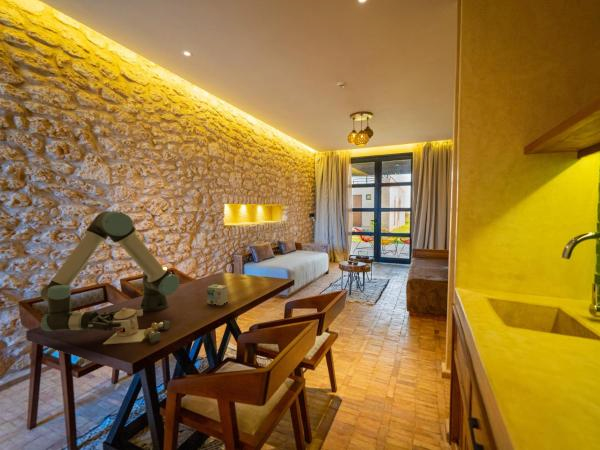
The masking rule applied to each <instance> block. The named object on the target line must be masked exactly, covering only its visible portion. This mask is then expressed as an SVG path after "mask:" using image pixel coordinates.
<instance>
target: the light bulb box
mask: <svg viewBox="0 0 600 450" xmlns="http://www.w3.org/2000/svg"><path fill="white" fill-rule="evenodd" d="M206 288H207V289H206V291H207V293H206V294H207V296H206V297H207V298H206V299H207V301H206V303H208V304H209V305H214V304H216V305H215V306H223V305H225V304H227V303H228V285H224V284H223V285H222V284H211V285H209V286H207V287H206ZM226 302H227V303H226ZM224 303H225V304H224Z"/></svg>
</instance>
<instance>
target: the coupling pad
mask: <svg viewBox="0 0 600 450" xmlns="http://www.w3.org/2000/svg"><path fill="white" fill-rule="evenodd" d="M146 329H147V328H146ZM146 329H145V328H144V329H138V330H137V331H136V332H135V333H133V334H131V335H128V336H118V335H117V332H115V333H114V334H113V335H112V336H110V337H109V338H108V339H107V340H105V342H103V343H102V344H103V345H113V344H128V343H141V342H143V340H144V339H146V338H145V337H144V331H145V330H146Z"/></svg>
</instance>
